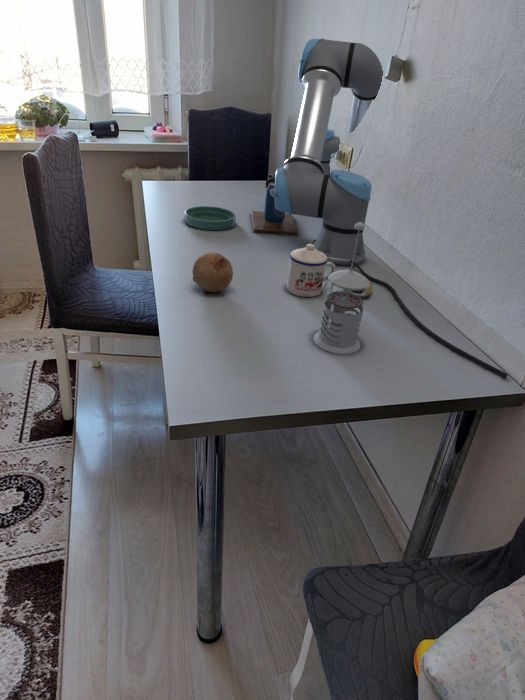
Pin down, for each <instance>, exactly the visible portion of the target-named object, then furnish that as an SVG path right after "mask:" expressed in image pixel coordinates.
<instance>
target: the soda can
mask: <svg viewBox="0 0 525 700" xmlns="http://www.w3.org/2000/svg"><path fill="white" fill-rule="evenodd" d="M265 189H266V190H265V200H264V209H263V212H264V218H265V220H266V221H267V222H269V223H274V224H278V223H282V221H283V220H284V218H285V214H286V213H285V212H280V211H278V210H277V209H276V206H275V182H270V183H269V185H268V187H267V188H265Z"/></svg>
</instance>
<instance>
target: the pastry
mask: <svg viewBox="0 0 525 700" xmlns="http://www.w3.org/2000/svg"><path fill="white" fill-rule="evenodd" d="M369 282H370V286H369V287H368V288H366V289H365V290H360V291H351V290H348V291H347V292H348V293H352V294H355V295H357V296H359V297H360V298H367V297H369V296H370V295H371V294H372V292H373V286H372V285H373V284H372V282H371V280H369ZM343 292H346V290H345V289H343Z"/></svg>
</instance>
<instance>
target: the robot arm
mask: <svg viewBox="0 0 525 700" xmlns="http://www.w3.org/2000/svg"><path fill="white" fill-rule="evenodd" d="M298 65H299V66H298V74H297V76H298V77H297V79H298V81H299V82H300V83H301V88H302V89H303V91H304V94H303V98H302V103H301V108H300V112H299V116H298V122H297V126H296V131H295V136H294V140H293V145H292V150H291V154H290V157H289V158H287V159H286V160H285V161H284V162H283V167H278V168H276V170H275V174H268V175H267V176H268V177H267V179H266V180H265V189H267V187H268V185H269V183H270V182H275V206H276V209H277V210H278V211H280V212H285V214H291V215H296V216H305V217H310V218H316V219H322V226H321V229H320V231H319V233H318V235H317V237H316V239H313V241H312V244H313V245H314V246H315V247H314V248H315V249H317V250H318V251H320V252H322V253H324V254H325V255H326V256H327V259H328V262H332V263H333V264H334V265H335V266H343V267H344V266H346V267H351V265H352V260H353V255H354V249H355V244H356V239H357V234H358V230H356V229H355V228H354V225H355V224H356V223H358V222H361V223H363V224H364V226H365V224H366V219H367V214H368V208H369V204H370V201H371V195H372V194H371V193H372V183H371V181H370V180H369V179H368V178H367V177H365V176H363V175H361V174H358V173H356V172H352V171H349V170H343V169H331V173H330V167H331V159H333V158H332V157H331V156H330V155H331V154H332V153H335V152H337V151H338V150H339V144H340V139H339V137H340V136H336V135H335V134H336V133H335V131H334V130H333V129H328V128H329V123H330V122H329V121H330V118H331V112H332V107H333V102H334V98H335V97H336V96H337V95H338V94H339V93H340V91H341V88H343V89H344V88H345V89H350V91H351V94H352V102H351V103H352V104H351V109H350V110H351V111H350V118H349V125H348V131H349V133H351V132H353V131H354V130H355V128H356V127H357V126H358V124H359V123H360V122H361V120H362V118H363V117H364V115H365V113H366V111H367V109H368V108H369V106H370V104H371V102H372V100H375V98H376V96H377V94H378V91H379V89H380V86H381V82H382V76H383V73H384V69H383V70H382V68H383V65H382V63H381V60H380V59H379V57H378V55H377V54H376V53H375V51H373V49H371V48H370V47H369V46H367V45H366V44H364V43H360V42H351V41H350V42H349V41H342V40H333V39H325V38H310V39H309V40H307V42H305V45H304V47H303V49H302V52H301V56H300V61H299V64H298ZM329 165H330V166H329ZM365 256H366V251H365V241H364V230H360V231H359V236H358V241H357V246H356V251H355V256H354V261H353V266H354V267H355V268H357V270H358V271H359V273H360V274H361V275H363V276H365V277H366V278H367V279H368V280H369V281H373V282H374V283H378V284H380V285H383V286H384V287H386V288H388V290H389V291H391V293H392V296H393V297H394V298H395V300H396V301H397V302H398V304H399V305H400V307H401V308H402V309H403V311H404V312H405V313H406V314H407V315H408V316H409V318H410V319H411V320H412V321H413V322H414V323H415V324H416V325H417V326H418V327H420V329H422V330H423V331H424V332H426V333H427V334H428V335H430V337H432V338H434V339H435V340H436V341H438V342H439V343H441V344H443V345H444V346H445V347H448V348H450V350H452V351H454V352H456V353H458V354H460V355H461V356H463V357H465V358H467V359H469V360H471V361H473V362H474V363H477V364H478V365H481V366H482V367H484V368H486V369H488V370H489V371H492V372H494V373H496V374H498V375H499V376H502V377H503V378H507V377H508V375H509V374H508V373H506V372H505V371H503V370H501V369H499V368H497V367H495V366H493V365H491V364H489V363H487V362H485V361H483V360H481V359H479V358H477V357H476V356H474V355H472V354H470V353H468V352H467V351H464V350H462V349H461V348H459V347H457V346H455V345H454V344H452V343H450V342H449V341H447V340H445V339H444V338H442V337H441V336H439V335H438V334H436V333H435V332H433V331H432V330H431V329H429V328H428V327H427V326H425V325H424V324H423V323H422V322H420V321H419V320H418V318H417V317H416V316H415V315H413V313H412V312H411V311H410V310H409V308H407V306H406V305H405V304H404V302H403V300H402V299H401V297H399V295H398V294H397V291H396V289H394V287H393V286H391V285H390V284H389V283H388V282H385V281H383V280H381V279H378V278H376V277H373V276H371V275H369V274H367V272H365V271H364V269H363V268H362V267H361V266H360V264H362V263H363V262H364V260H365Z"/></svg>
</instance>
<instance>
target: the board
mask: <svg viewBox="0 0 525 700" xmlns="http://www.w3.org/2000/svg"><path fill="white" fill-rule="evenodd" d="M250 212H251V213H250V215H251V223H252V229H253V233H254V234H265V235H277V236H278V235H279V236H293V237H298V234H299V231H298V229H297V226H296V223H295V221H294V217H293V216H292V215H293V214H289V213H285V218H284V220H283V221H282V223H278V224H274V223H269V222H267V221H266V220H265V218H264V211H257V210H251V211H250Z"/></svg>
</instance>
